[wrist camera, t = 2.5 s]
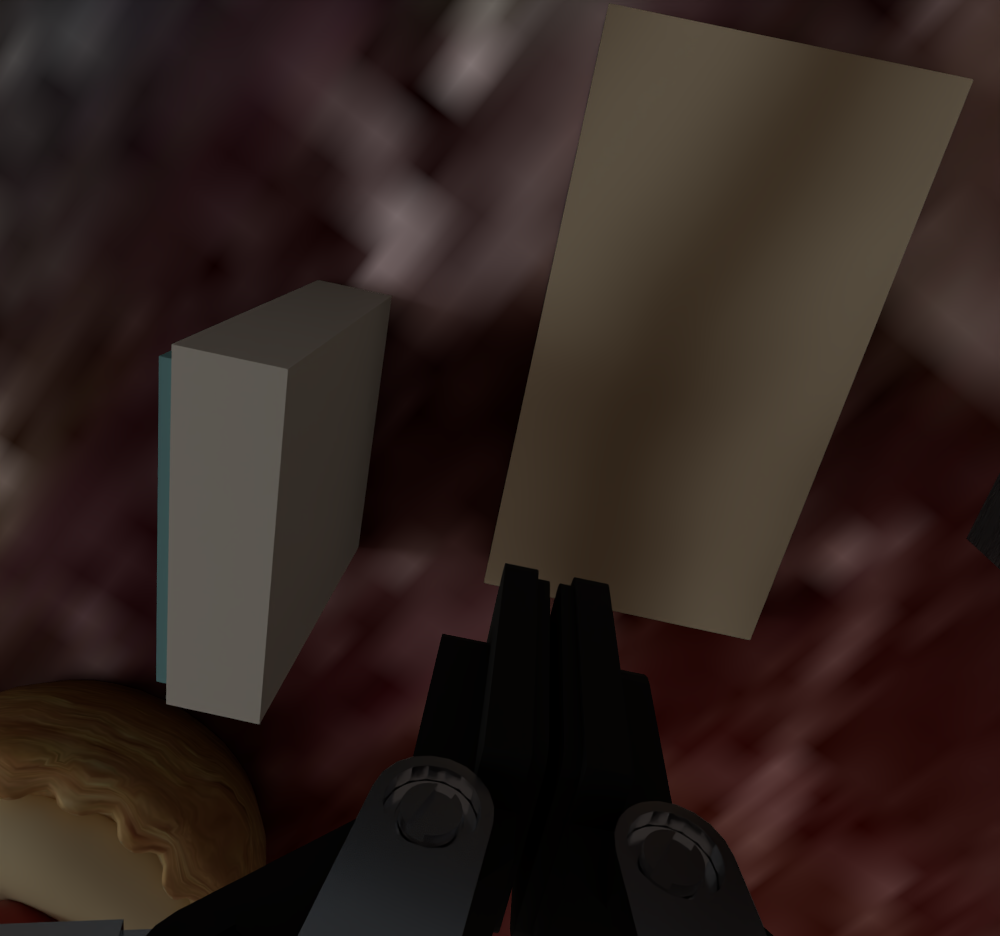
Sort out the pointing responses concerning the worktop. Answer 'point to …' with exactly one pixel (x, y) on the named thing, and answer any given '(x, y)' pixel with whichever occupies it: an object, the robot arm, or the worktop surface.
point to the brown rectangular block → (988, 526)
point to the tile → (261, 488)
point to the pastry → (116, 806)
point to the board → (710, 308)
